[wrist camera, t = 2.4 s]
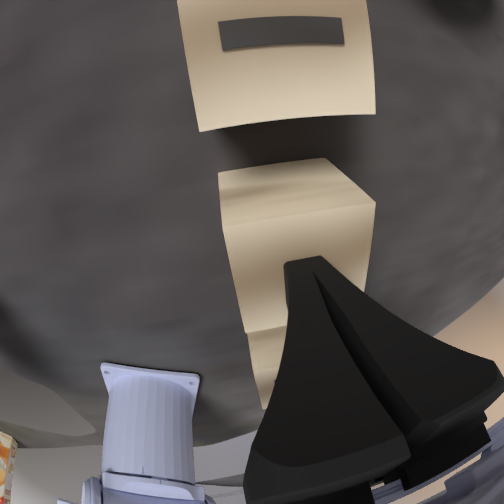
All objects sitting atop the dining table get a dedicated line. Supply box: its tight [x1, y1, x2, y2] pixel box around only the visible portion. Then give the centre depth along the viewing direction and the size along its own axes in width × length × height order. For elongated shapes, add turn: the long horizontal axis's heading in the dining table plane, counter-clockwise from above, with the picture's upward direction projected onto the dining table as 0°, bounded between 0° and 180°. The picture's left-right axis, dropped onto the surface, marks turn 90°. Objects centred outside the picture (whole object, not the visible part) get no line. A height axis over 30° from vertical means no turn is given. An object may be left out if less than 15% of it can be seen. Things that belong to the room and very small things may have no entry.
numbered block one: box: [177, 0, 375, 132], centre depth 8 cm, size 5×5×5 cm
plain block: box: [218, 158, 376, 333], centre depth 12 cm, size 5×5×5 cm
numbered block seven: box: [247, 326, 287, 409], centre depth 17 cm, size 5×5×5 cm
